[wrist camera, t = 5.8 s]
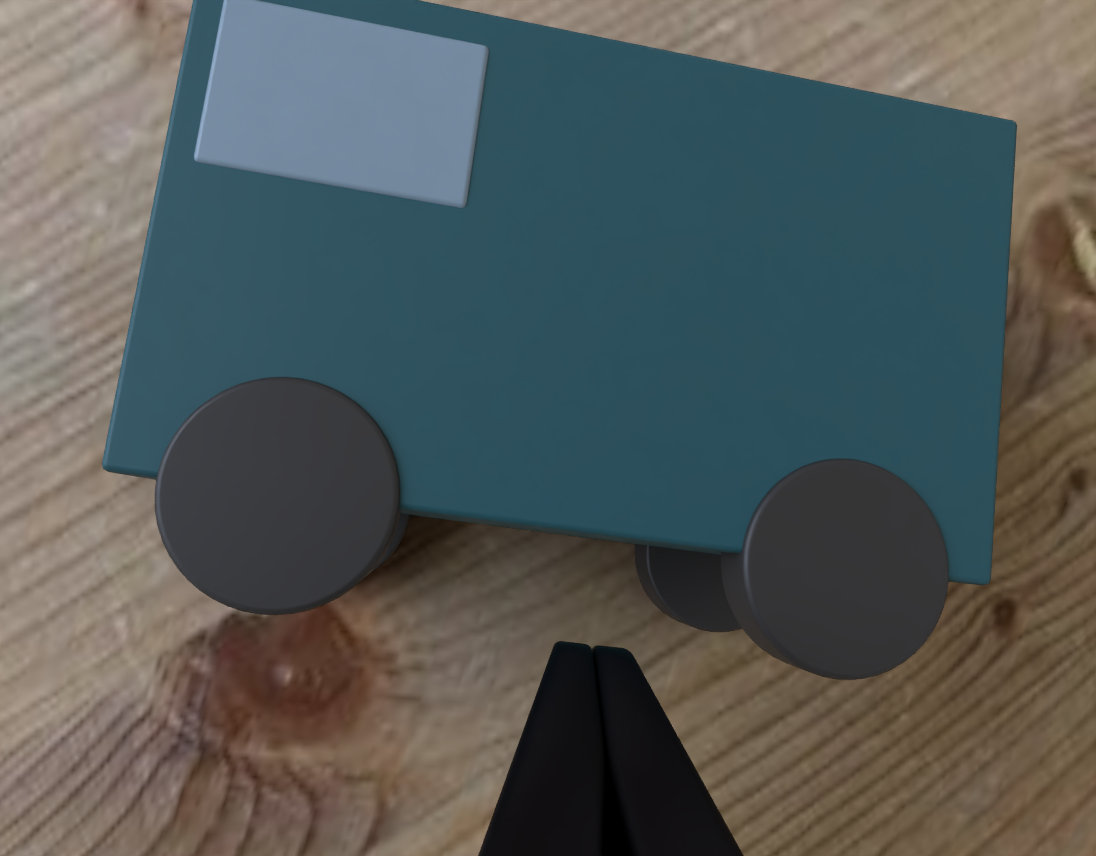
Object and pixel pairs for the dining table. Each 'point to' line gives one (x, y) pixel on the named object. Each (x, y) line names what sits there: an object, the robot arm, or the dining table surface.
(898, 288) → the toy van
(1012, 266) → the dining table surface
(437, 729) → the dining table surface
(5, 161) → the dining table surface
